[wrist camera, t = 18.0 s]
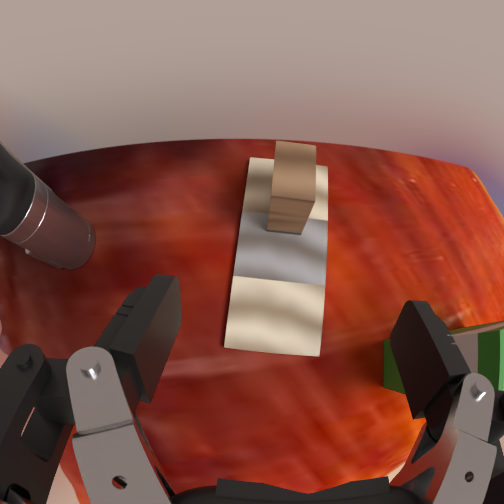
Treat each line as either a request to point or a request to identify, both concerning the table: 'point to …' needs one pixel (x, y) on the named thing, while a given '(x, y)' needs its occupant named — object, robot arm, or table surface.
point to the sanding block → (292, 187)
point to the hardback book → (464, 354)
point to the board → (278, 273)
